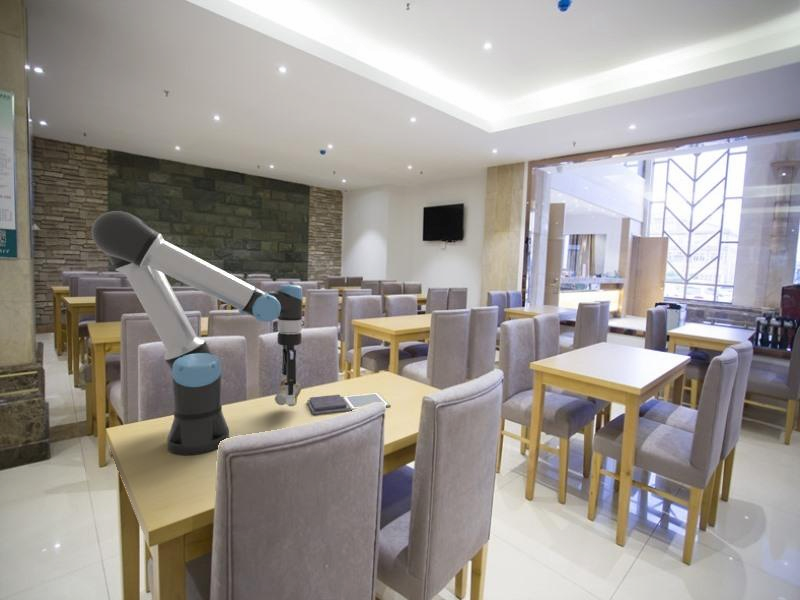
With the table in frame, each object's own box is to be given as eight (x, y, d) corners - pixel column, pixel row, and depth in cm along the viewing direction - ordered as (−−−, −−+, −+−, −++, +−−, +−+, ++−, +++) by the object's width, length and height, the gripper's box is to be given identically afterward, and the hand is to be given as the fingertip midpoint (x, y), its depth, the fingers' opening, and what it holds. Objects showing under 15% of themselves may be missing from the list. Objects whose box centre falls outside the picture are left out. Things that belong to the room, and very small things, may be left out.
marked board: (351, 411, 137) (351, 409, 136) (341, 398, 150) (341, 396, 149) (390, 406, 142) (390, 404, 142) (377, 394, 155) (377, 392, 155)
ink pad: (313, 414, 133) (313, 408, 133) (307, 402, 144) (307, 397, 144) (349, 410, 137) (349, 404, 137) (340, 399, 148) (340, 393, 148)
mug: (267, 407, 130) (270, 376, 134) (285, 411, 138) (286, 381, 142) (288, 404, 128) (290, 373, 132) (304, 409, 136) (305, 379, 140)
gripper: (306, 338, 124) (304, 409, 126) (296, 326, 145) (295, 388, 147) (281, 338, 122) (279, 411, 124) (274, 326, 142) (273, 389, 144)
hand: (288, 398), depth 135 cm, fingers closed on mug, 10 cm apart
